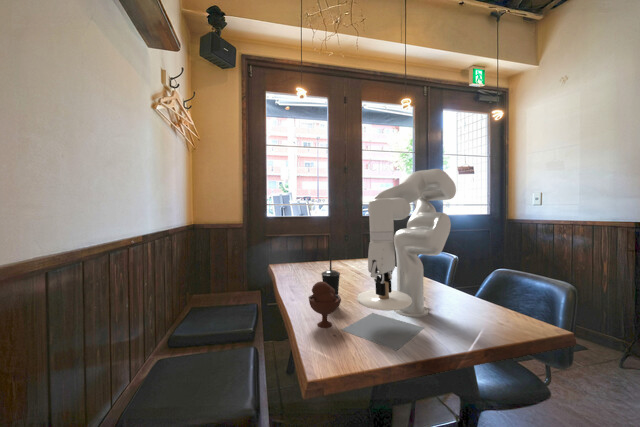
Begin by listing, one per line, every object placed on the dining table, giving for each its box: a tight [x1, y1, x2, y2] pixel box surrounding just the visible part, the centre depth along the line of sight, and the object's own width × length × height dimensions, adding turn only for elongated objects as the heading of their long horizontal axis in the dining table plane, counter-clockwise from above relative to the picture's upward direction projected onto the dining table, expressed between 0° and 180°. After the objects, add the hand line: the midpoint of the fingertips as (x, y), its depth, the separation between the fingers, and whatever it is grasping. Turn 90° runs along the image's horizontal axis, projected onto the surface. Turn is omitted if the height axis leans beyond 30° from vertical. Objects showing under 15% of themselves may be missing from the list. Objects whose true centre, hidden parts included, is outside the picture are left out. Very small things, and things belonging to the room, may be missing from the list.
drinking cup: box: [320, 256, 341, 295], centre depth 104 cm, size 8×8×20 cm
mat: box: [341, 312, 425, 351], centre depth 82 cm, size 19×19×1 cm
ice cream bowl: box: [307, 281, 342, 329], centre depth 86 cm, size 11×11×15 cm
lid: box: [357, 281, 412, 312], centre depth 83 cm, size 17×17×6 cm
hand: (383, 292), depth 83 cm, fingers closed on lid, 3 cm apart
